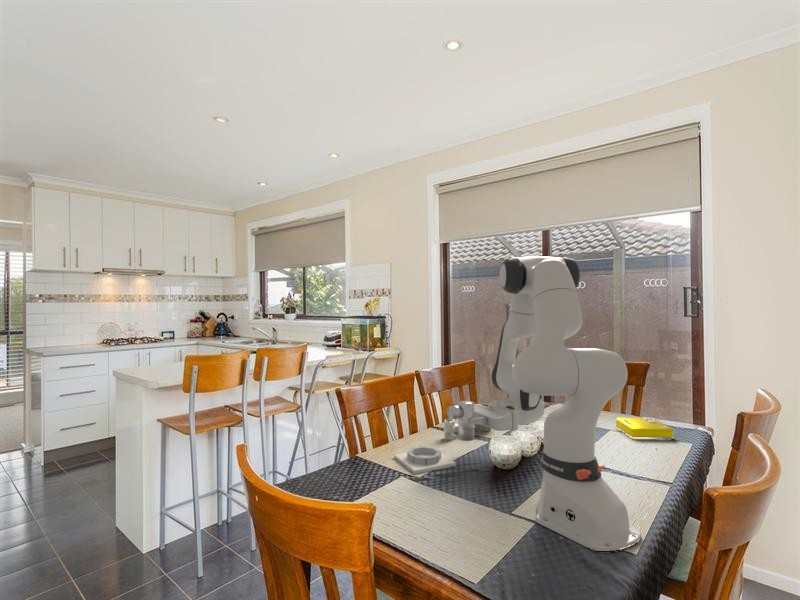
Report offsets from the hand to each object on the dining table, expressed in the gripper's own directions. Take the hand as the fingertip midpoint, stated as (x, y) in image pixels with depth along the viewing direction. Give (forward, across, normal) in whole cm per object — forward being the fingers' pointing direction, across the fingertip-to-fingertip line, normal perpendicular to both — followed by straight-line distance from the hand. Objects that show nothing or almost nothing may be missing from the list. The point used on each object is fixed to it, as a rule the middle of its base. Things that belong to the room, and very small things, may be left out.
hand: (463, 419), depth 134 cm
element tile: (-76, +5, +14) cm, 78 cm away
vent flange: (+11, -6, +13) cm, 18 cm away
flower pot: (-25, -25, +13) cm, 38 cm away
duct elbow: (+1, 0, +6) cm, 6 cm away
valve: (-12, -22, +13) cm, 28 cm away
